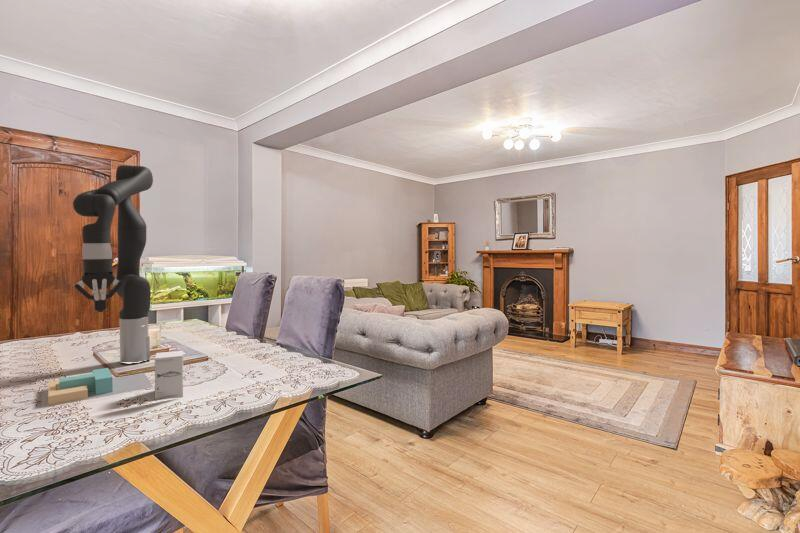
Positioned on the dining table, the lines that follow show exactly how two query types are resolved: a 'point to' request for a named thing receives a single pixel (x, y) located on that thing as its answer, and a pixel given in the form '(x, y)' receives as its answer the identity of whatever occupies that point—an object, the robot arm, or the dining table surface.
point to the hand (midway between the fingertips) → (100, 311)
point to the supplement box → (169, 375)
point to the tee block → (90, 381)
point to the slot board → (81, 393)
